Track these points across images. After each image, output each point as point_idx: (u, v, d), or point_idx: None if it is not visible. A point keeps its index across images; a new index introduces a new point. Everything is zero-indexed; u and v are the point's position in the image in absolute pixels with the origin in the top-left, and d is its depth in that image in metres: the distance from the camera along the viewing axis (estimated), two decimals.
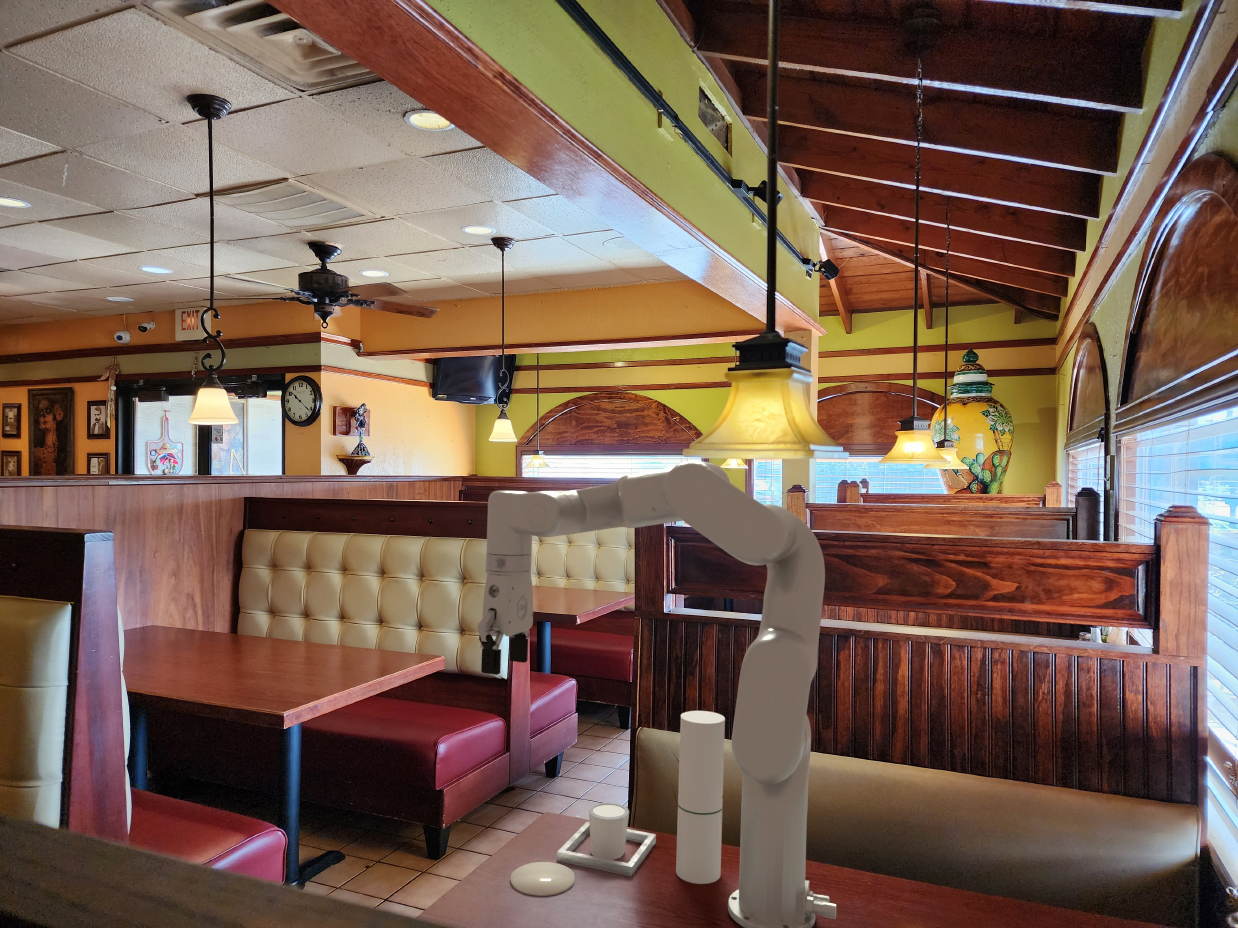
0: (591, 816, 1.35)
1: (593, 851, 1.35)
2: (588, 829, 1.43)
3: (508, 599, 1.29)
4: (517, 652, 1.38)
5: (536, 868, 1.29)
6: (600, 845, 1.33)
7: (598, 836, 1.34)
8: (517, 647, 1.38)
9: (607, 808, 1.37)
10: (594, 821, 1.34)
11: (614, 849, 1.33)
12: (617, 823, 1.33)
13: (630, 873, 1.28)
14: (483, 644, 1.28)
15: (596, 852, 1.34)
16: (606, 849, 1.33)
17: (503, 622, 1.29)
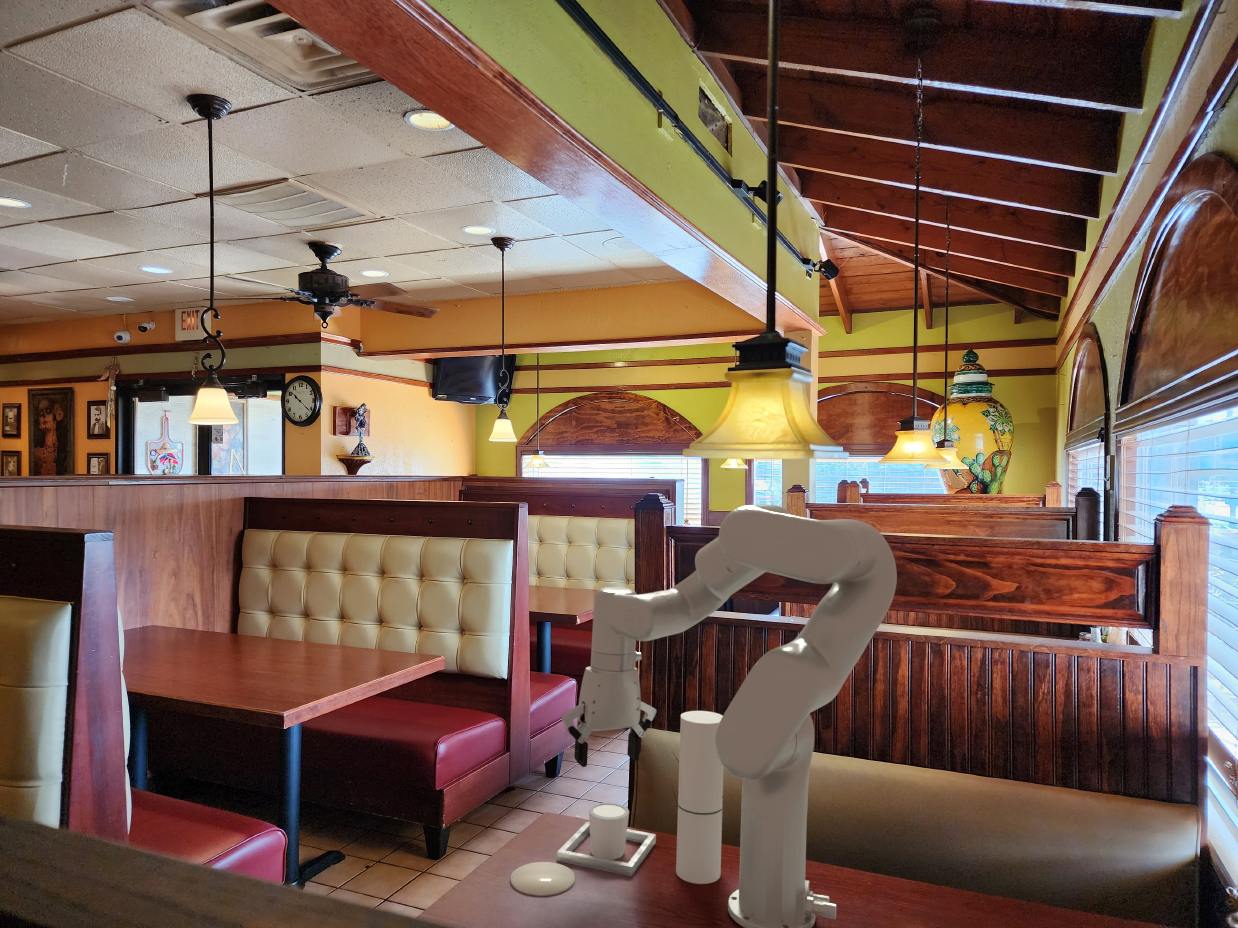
0: (591, 816, 1.35)
1: (593, 851, 1.35)
2: (588, 829, 1.43)
3: None
4: None
5: (536, 868, 1.29)
6: (600, 845, 1.33)
7: (598, 836, 1.34)
8: None
9: (607, 808, 1.37)
10: (594, 821, 1.34)
11: (614, 849, 1.33)
12: (617, 823, 1.33)
13: (630, 873, 1.28)
14: None
15: (596, 852, 1.34)
16: (606, 850, 1.33)
17: None
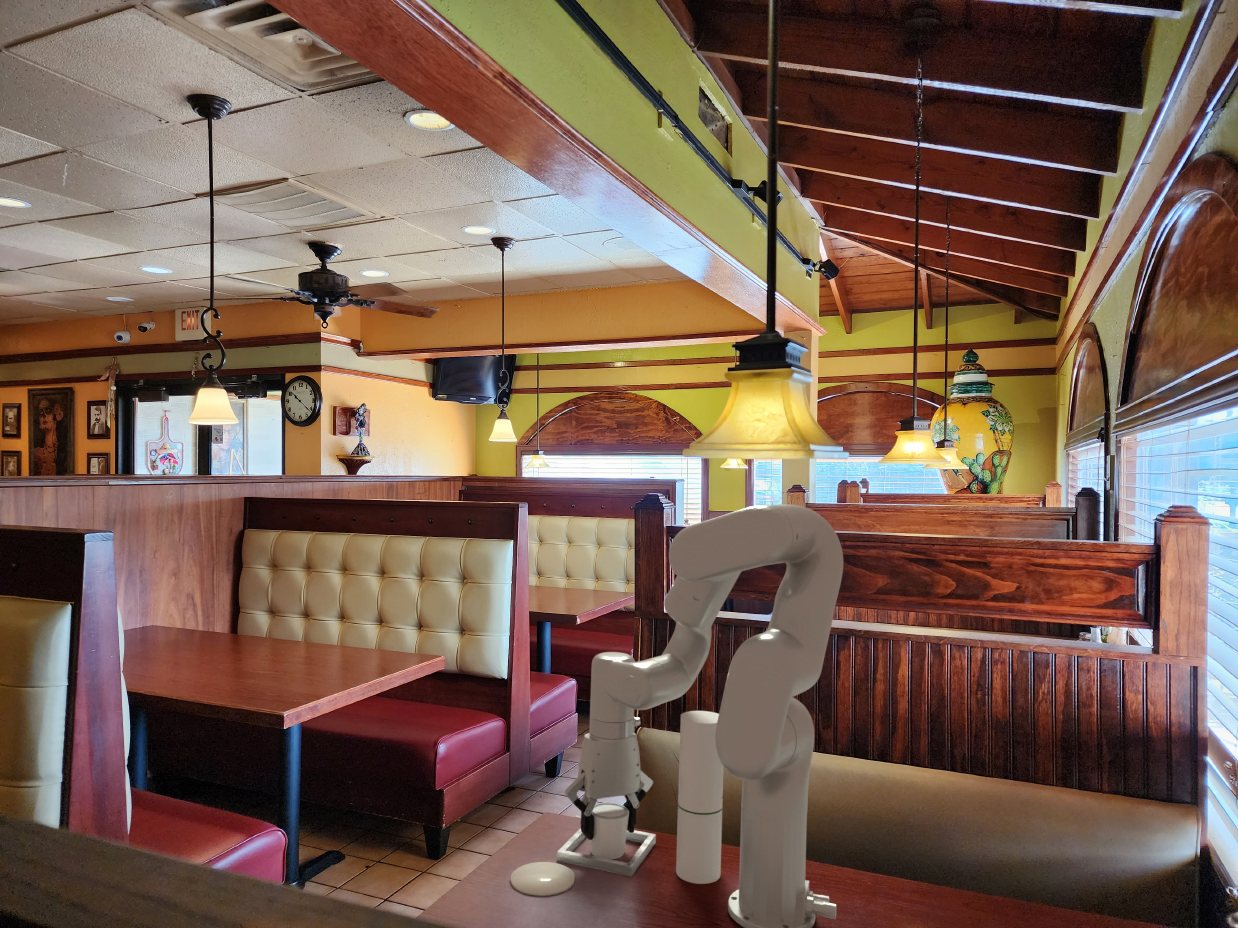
0: None
1: (593, 851, 1.35)
2: None
3: None
4: None
5: (536, 868, 1.29)
6: (600, 844, 1.33)
7: (598, 836, 1.34)
8: None
9: (607, 808, 1.37)
10: (594, 821, 1.34)
11: (614, 849, 1.33)
12: (617, 823, 1.33)
13: (630, 873, 1.28)
14: None
15: (596, 852, 1.34)
16: (606, 849, 1.33)
17: None
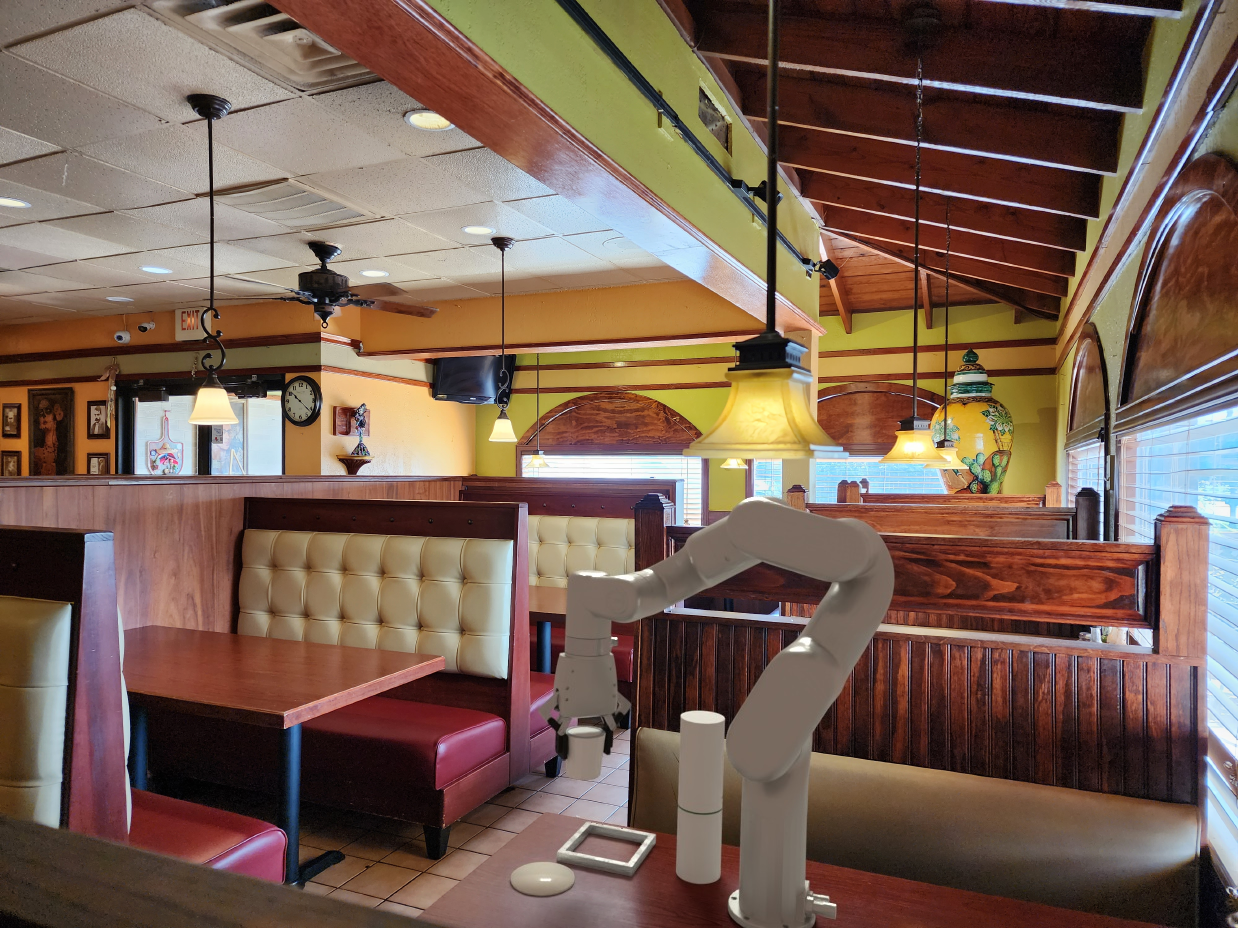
0: None
1: (568, 772, 1.31)
2: (588, 829, 1.43)
3: None
4: None
5: (536, 868, 1.29)
6: (575, 765, 1.29)
7: (572, 756, 1.30)
8: None
9: (583, 730, 1.33)
10: (568, 741, 1.30)
11: (589, 770, 1.29)
12: (592, 743, 1.29)
13: (630, 873, 1.28)
14: None
15: (570, 773, 1.30)
16: (581, 770, 1.29)
17: None
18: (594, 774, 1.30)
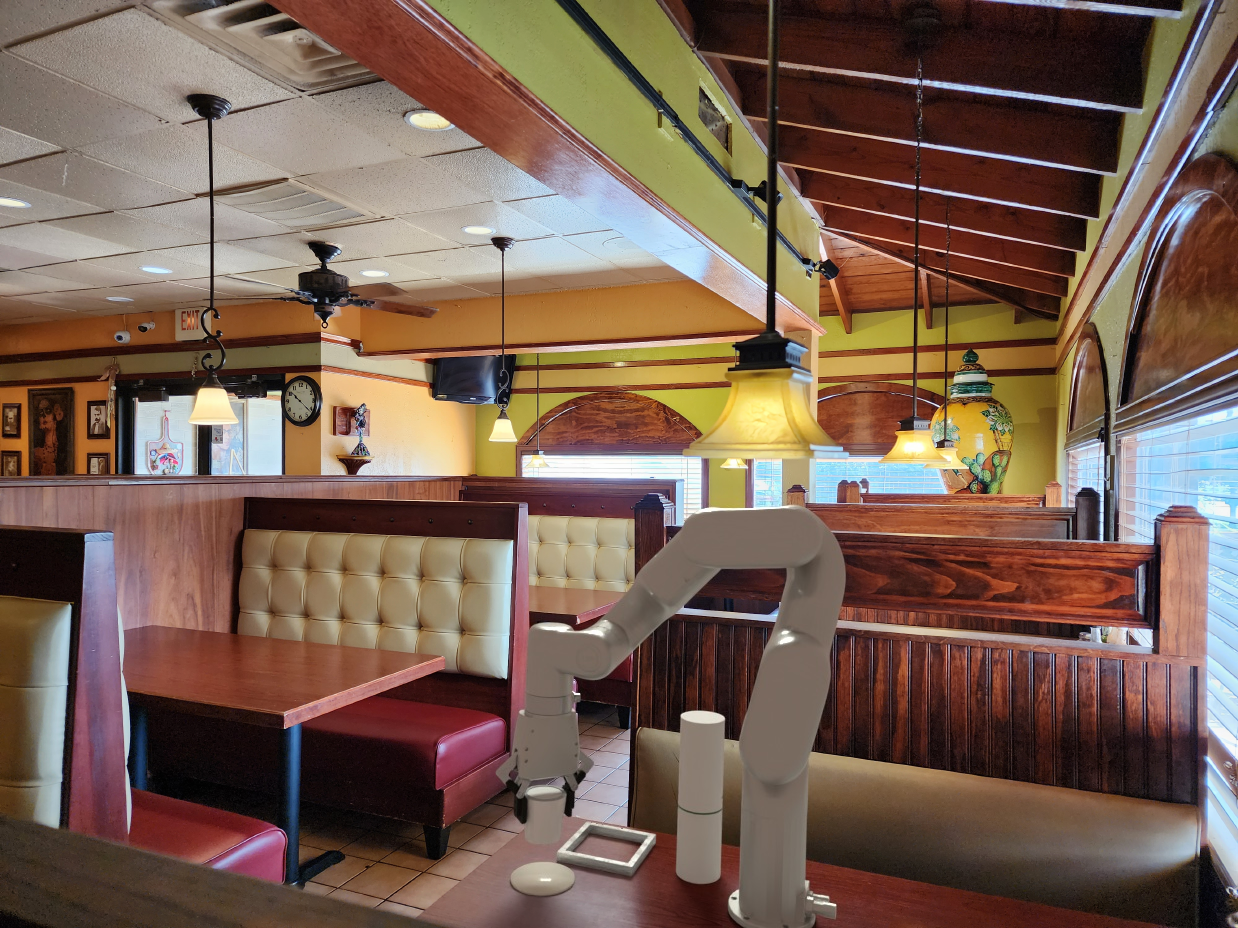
0: None
1: (526, 836, 1.25)
2: (588, 829, 1.43)
3: None
4: None
5: (536, 868, 1.29)
6: (534, 829, 1.23)
7: (531, 819, 1.24)
8: None
9: (543, 790, 1.27)
10: (527, 803, 1.24)
11: (548, 834, 1.23)
12: (552, 806, 1.23)
13: (630, 873, 1.28)
14: None
15: (529, 837, 1.24)
16: (540, 834, 1.23)
17: None
18: (554, 838, 1.24)
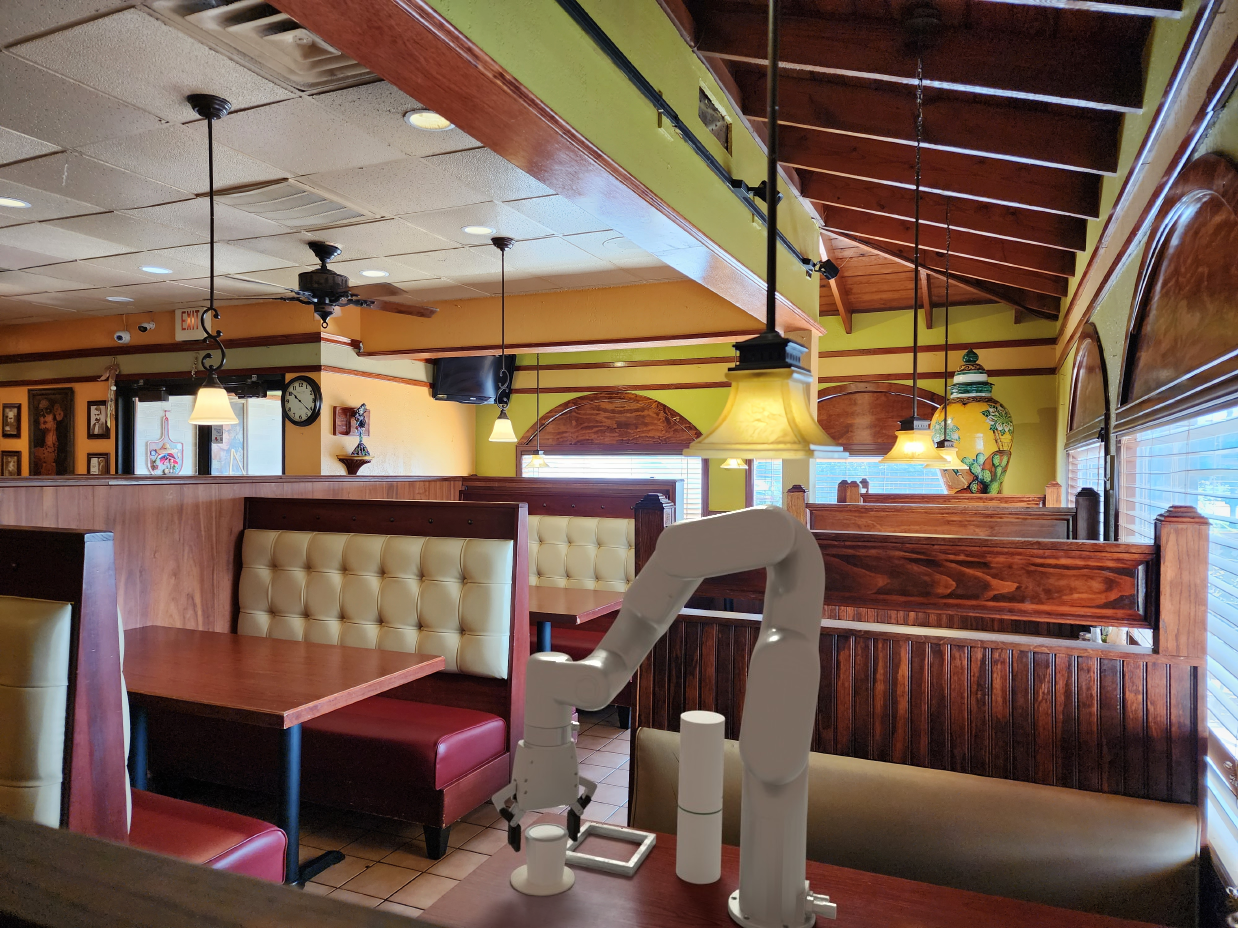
0: (527, 838, 1.25)
1: (529, 876, 1.24)
2: (588, 829, 1.43)
3: None
4: None
5: None
6: (536, 869, 1.23)
7: (534, 860, 1.23)
8: None
9: (545, 829, 1.27)
10: (529, 844, 1.24)
11: (551, 874, 1.23)
12: (554, 846, 1.23)
13: (630, 873, 1.28)
14: None
15: (532, 877, 1.24)
16: (542, 875, 1.23)
17: None
18: (556, 878, 1.24)
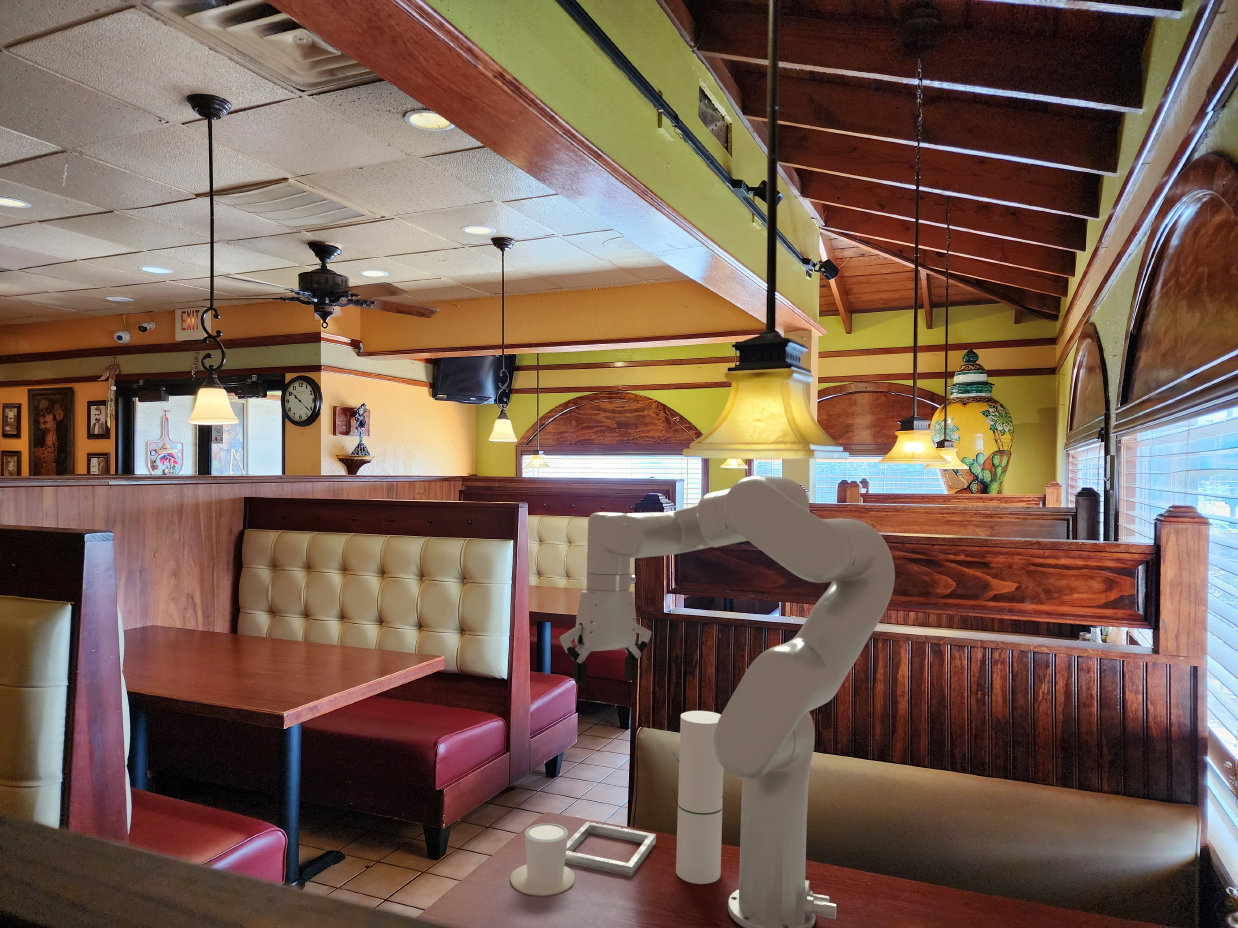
0: (526, 838, 1.24)
1: (529, 876, 1.24)
2: (588, 829, 1.43)
3: None
4: None
5: None
6: (536, 869, 1.23)
7: (533, 860, 1.23)
8: None
9: (545, 829, 1.27)
10: (529, 844, 1.24)
11: (551, 874, 1.23)
12: (554, 846, 1.23)
13: (630, 873, 1.28)
14: None
15: (532, 877, 1.24)
16: (542, 875, 1.23)
17: None
18: (556, 878, 1.24)
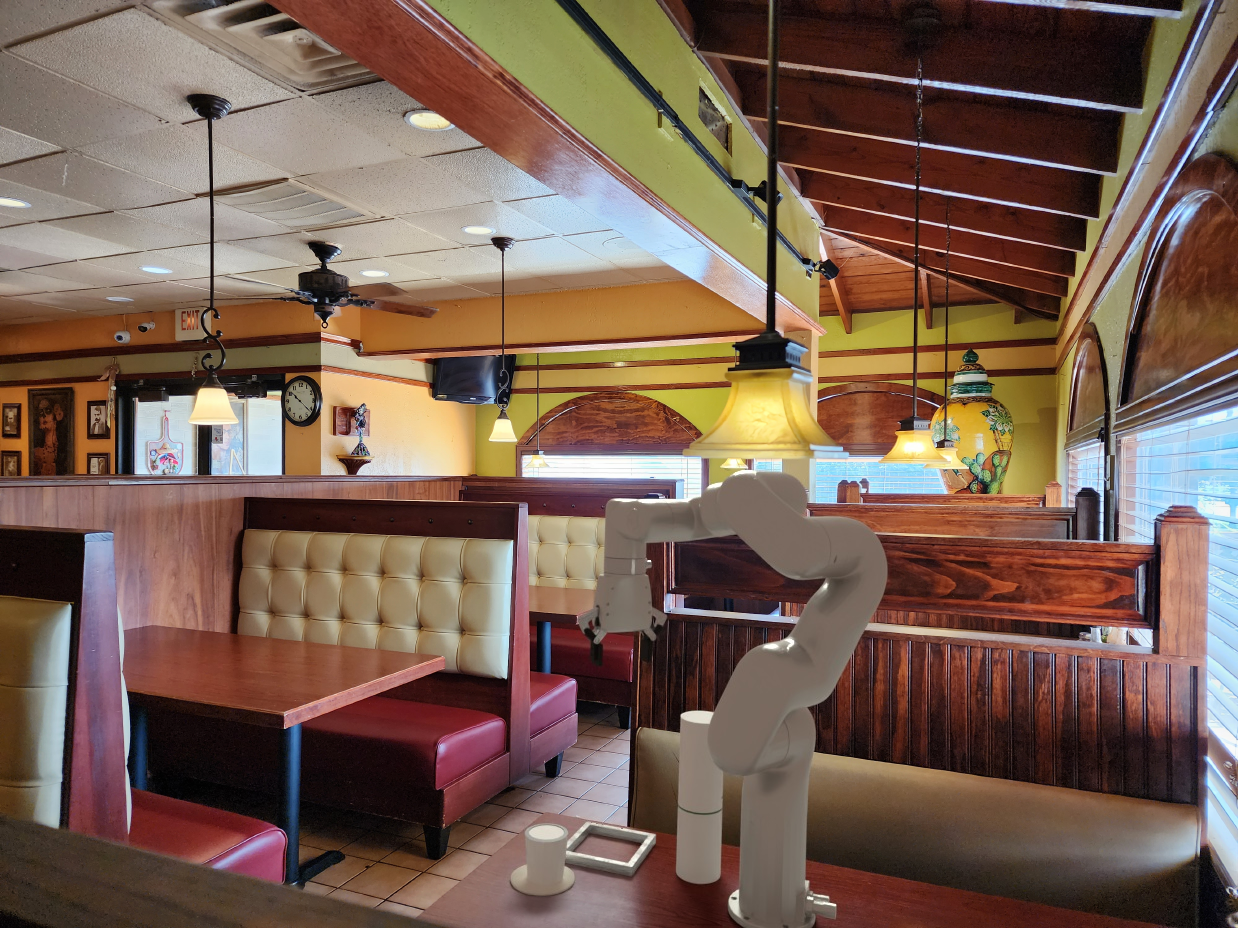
0: (526, 838, 1.24)
1: (529, 876, 1.24)
2: (588, 829, 1.43)
3: None
4: None
5: None
6: (536, 869, 1.23)
7: (533, 860, 1.23)
8: None
9: (545, 829, 1.27)
10: (529, 844, 1.24)
11: (551, 874, 1.23)
12: (554, 846, 1.23)
13: (630, 873, 1.28)
14: None
15: (532, 877, 1.24)
16: (542, 875, 1.23)
17: None
18: (556, 878, 1.24)
